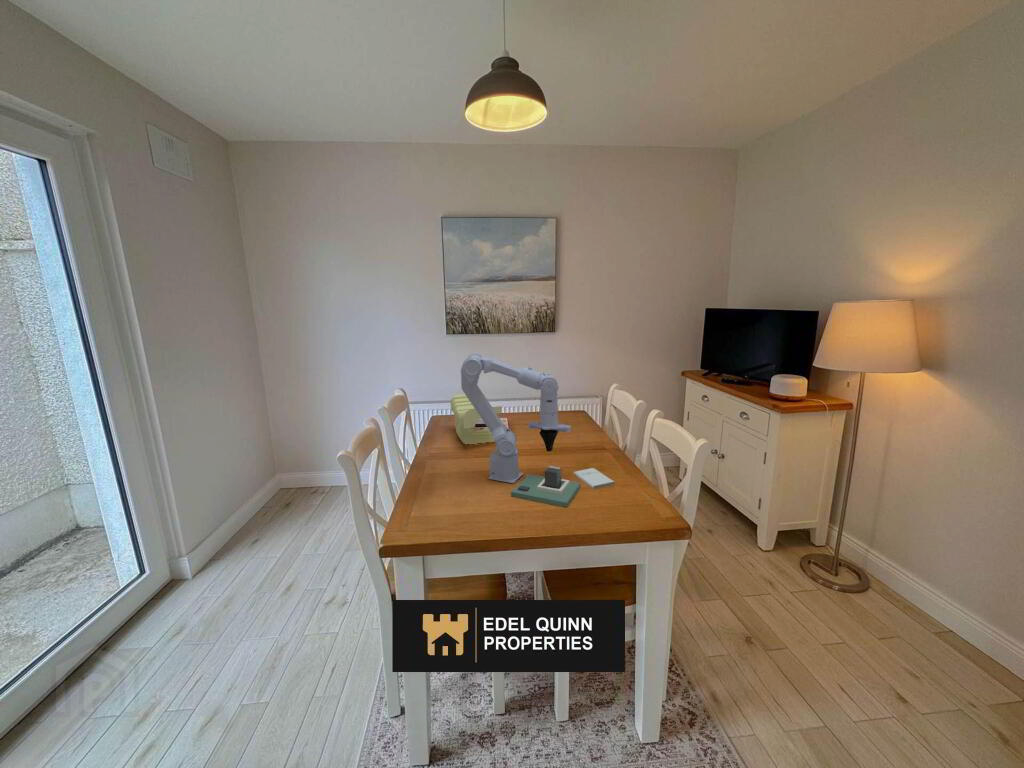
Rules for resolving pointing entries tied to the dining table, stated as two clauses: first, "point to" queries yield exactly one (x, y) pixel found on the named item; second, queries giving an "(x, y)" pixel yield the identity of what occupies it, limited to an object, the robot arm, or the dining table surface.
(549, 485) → the dark grey block
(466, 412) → the ridged pale green box
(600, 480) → the external hard drive
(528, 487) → the board
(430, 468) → the dining table surface
